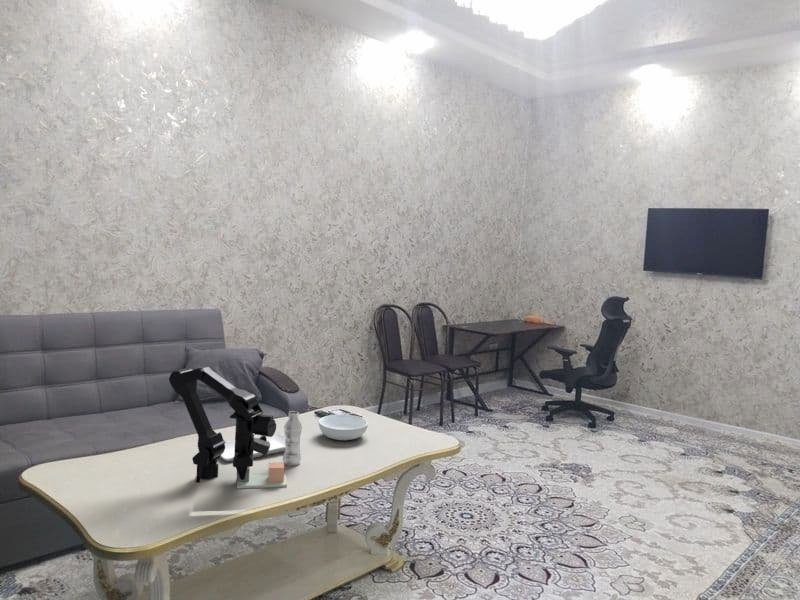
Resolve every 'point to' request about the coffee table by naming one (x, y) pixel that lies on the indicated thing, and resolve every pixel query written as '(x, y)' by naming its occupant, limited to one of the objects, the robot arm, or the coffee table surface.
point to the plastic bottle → (292, 440)
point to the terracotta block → (276, 472)
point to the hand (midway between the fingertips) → (242, 477)
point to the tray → (275, 446)
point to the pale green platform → (258, 481)
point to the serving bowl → (343, 426)
